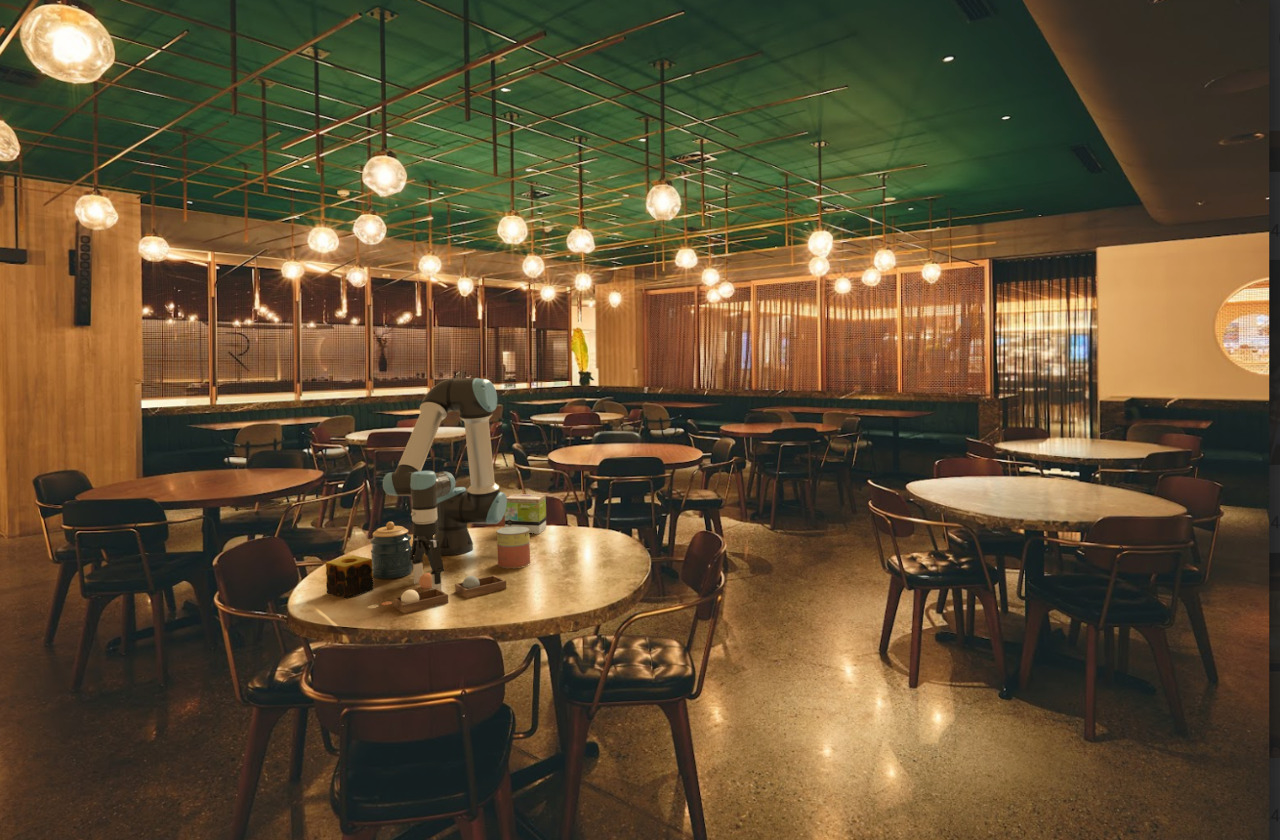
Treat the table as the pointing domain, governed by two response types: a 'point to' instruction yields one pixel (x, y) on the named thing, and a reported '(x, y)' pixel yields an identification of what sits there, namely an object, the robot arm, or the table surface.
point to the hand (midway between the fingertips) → (427, 588)
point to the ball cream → (409, 596)
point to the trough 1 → (422, 601)
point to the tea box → (526, 512)
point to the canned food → (513, 546)
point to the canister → (391, 552)
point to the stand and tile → (378, 605)
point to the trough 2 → (482, 586)
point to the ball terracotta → (425, 581)
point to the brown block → (349, 576)
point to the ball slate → (471, 582)
